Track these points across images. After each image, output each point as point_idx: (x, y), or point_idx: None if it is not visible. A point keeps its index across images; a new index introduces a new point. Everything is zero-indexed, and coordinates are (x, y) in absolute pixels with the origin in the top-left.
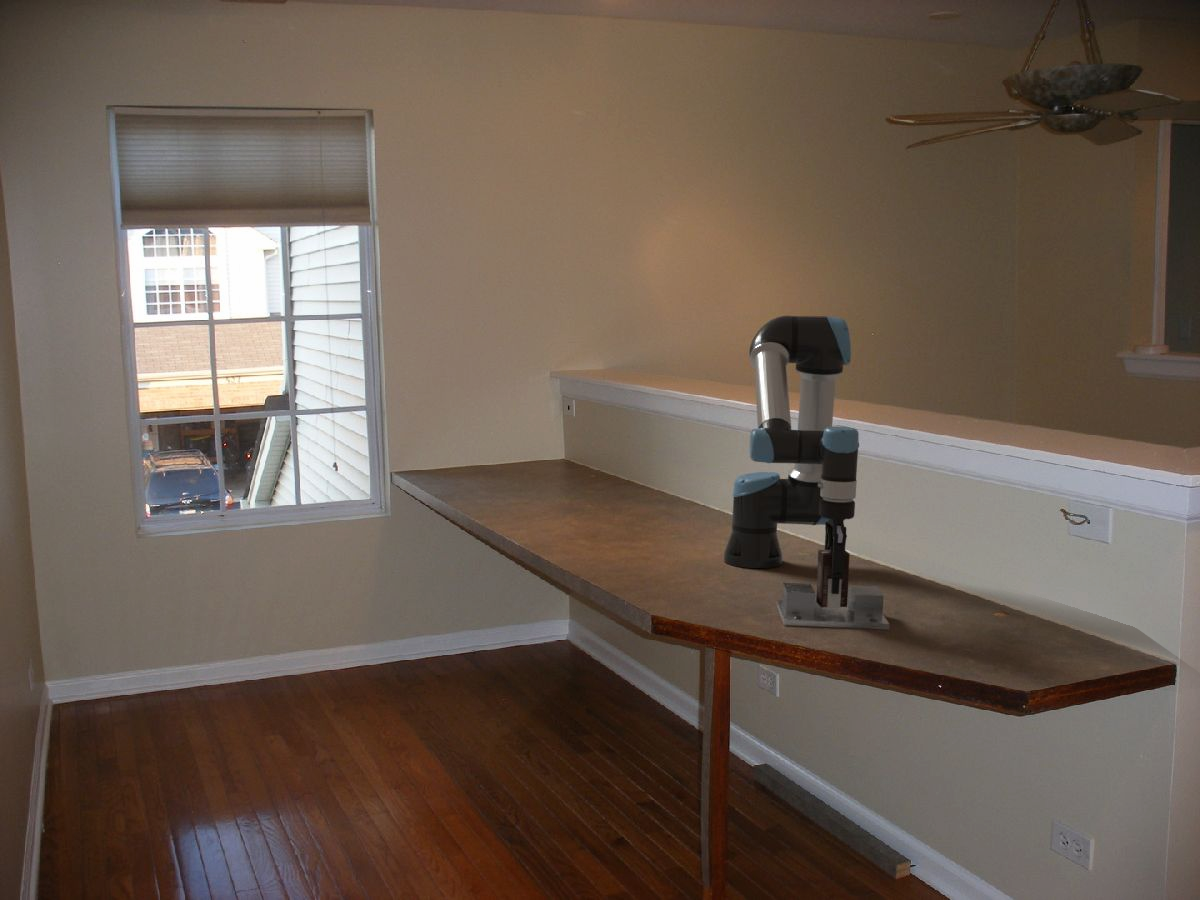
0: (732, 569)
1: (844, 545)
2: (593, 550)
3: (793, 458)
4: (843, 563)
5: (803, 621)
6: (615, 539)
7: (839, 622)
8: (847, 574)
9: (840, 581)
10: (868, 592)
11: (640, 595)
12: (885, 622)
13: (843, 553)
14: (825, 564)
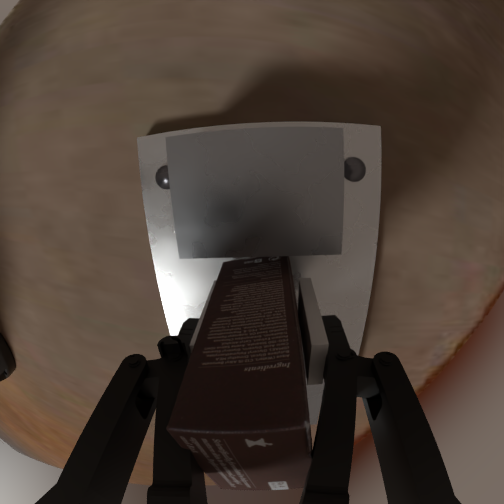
0: (27, 373)
1: (450, 493)
2: (63, 451)
3: None
4: (418, 408)
5: (357, 350)
6: (23, 424)
7: (372, 273)
8: (299, 329)
9: (327, 339)
10: (294, 188)
11: (205, 476)
12: (367, 134)
13: (435, 455)
14: (311, 439)
